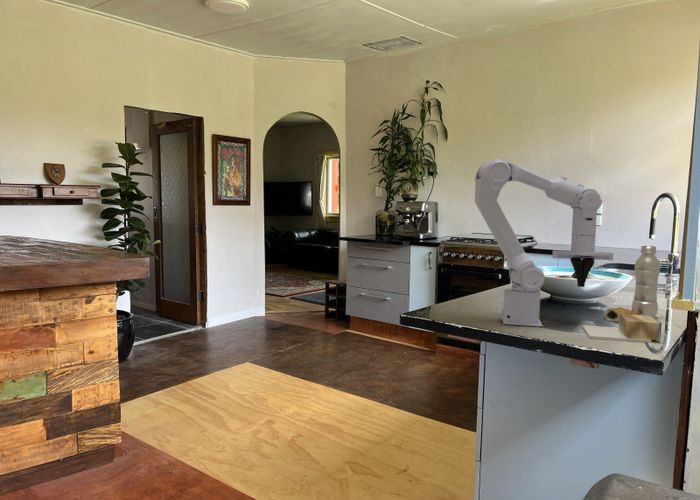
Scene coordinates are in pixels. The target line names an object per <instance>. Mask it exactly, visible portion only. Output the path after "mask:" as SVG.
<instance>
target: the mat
mask: <svg viewBox="0 0 700 500" xmlns="http://www.w3.org/2000/svg"><path fill="white" fill-rule="evenodd" d="M581 329H583V331H584V332H585V333H586V335H587V336H588V338H589V339H591V340H592V339H593V340H605V339H606V340H607V341H618V342H619V341H621V342H637V343H648V344H649V343H650V344H651V343H652V340H649V339H635V338H627V337H626V336H625V335H624V334H623V333H622V332H621V331H620V330H619V327H616V326H615V327H614V326H601V325H599V326H598V325H585V324H583V325H581Z"/></svg>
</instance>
